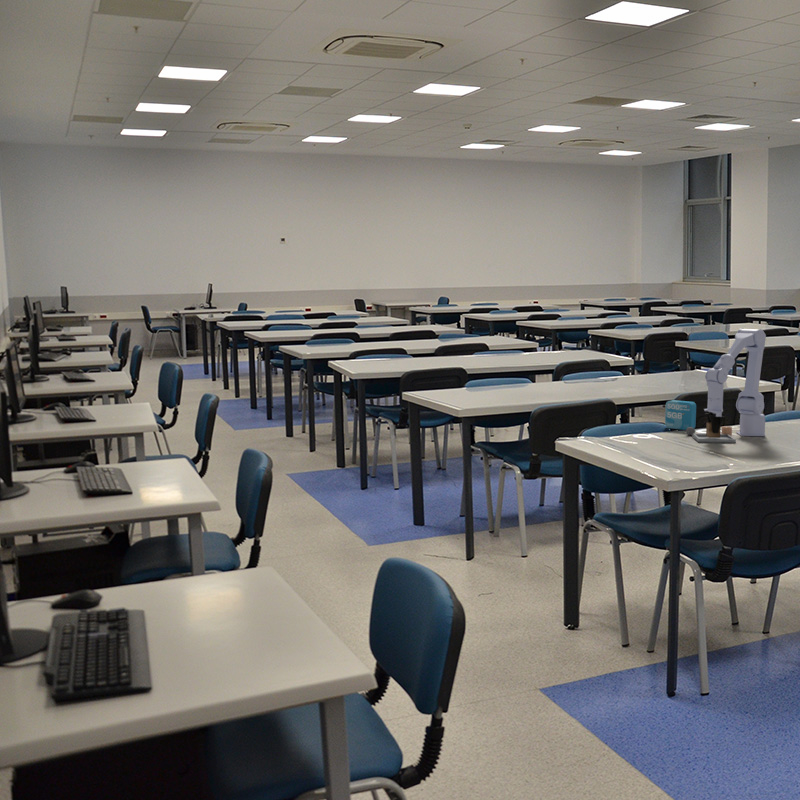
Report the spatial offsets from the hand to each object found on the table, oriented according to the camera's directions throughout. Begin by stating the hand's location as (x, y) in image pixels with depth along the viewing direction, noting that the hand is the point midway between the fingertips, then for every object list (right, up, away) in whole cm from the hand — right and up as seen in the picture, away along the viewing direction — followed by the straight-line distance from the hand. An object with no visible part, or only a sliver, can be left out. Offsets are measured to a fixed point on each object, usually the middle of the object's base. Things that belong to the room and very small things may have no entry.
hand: (714, 431), depth 334 cm
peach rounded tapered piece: (+8, -2, +8) cm, 12 cm away
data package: (-4, 0, +29) cm, 29 cm away
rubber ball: (-5, -2, +12) cm, 13 cm away
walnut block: (0, -2, 0) cm, 2 cm away
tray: (0, -3, 0) cm, 3 cm away
